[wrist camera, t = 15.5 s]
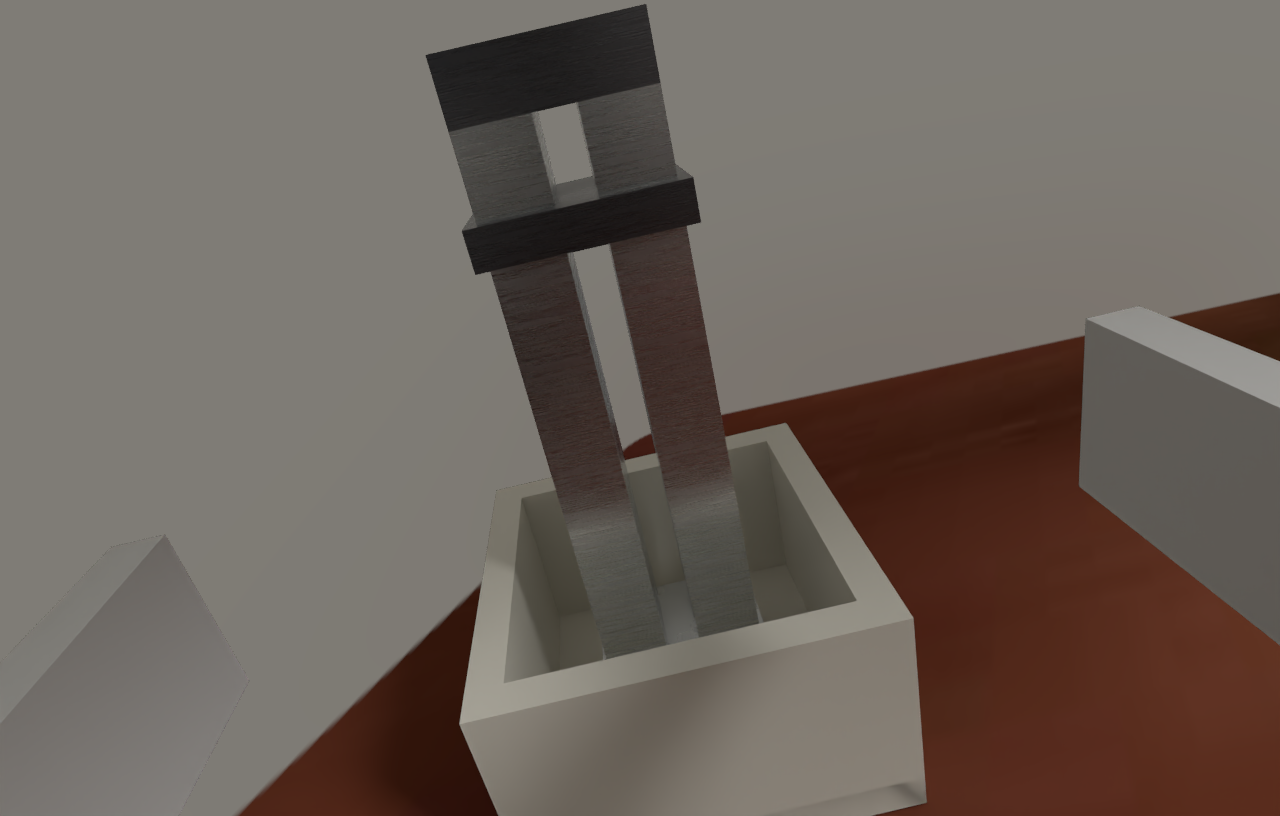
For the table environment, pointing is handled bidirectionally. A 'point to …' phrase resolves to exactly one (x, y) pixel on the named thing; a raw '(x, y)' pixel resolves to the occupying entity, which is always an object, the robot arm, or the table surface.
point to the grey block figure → (559, 321)
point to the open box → (697, 666)
